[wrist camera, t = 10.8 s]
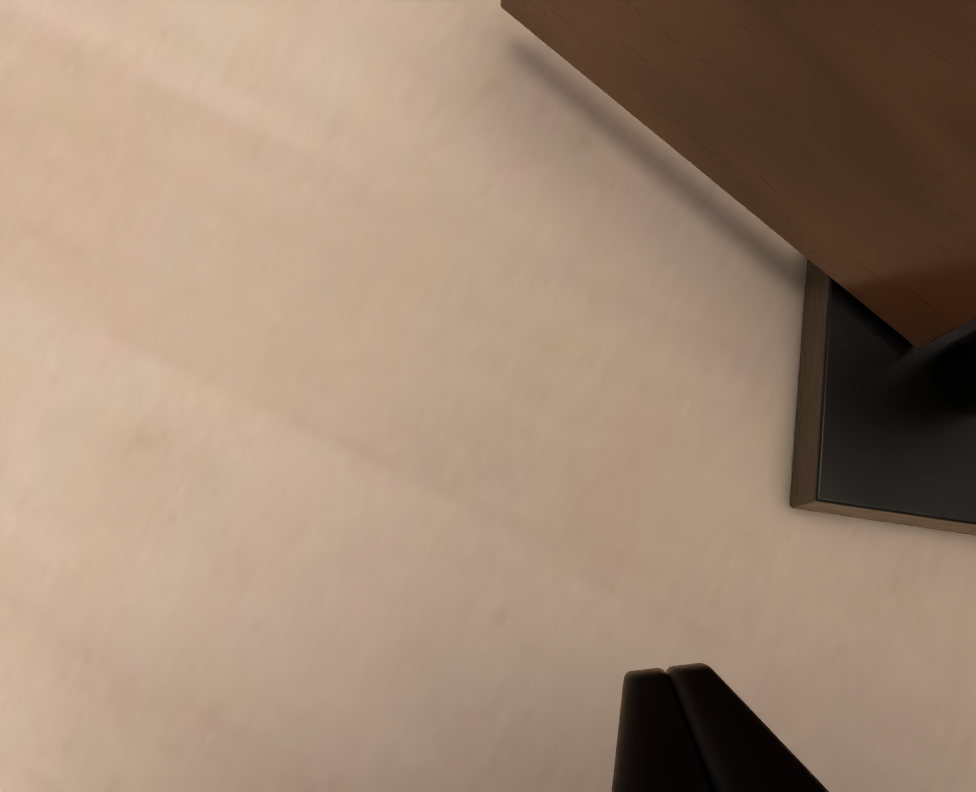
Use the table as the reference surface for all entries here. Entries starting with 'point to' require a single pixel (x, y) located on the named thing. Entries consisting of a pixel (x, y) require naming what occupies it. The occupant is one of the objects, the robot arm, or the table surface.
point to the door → (811, 126)
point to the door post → (883, 417)
